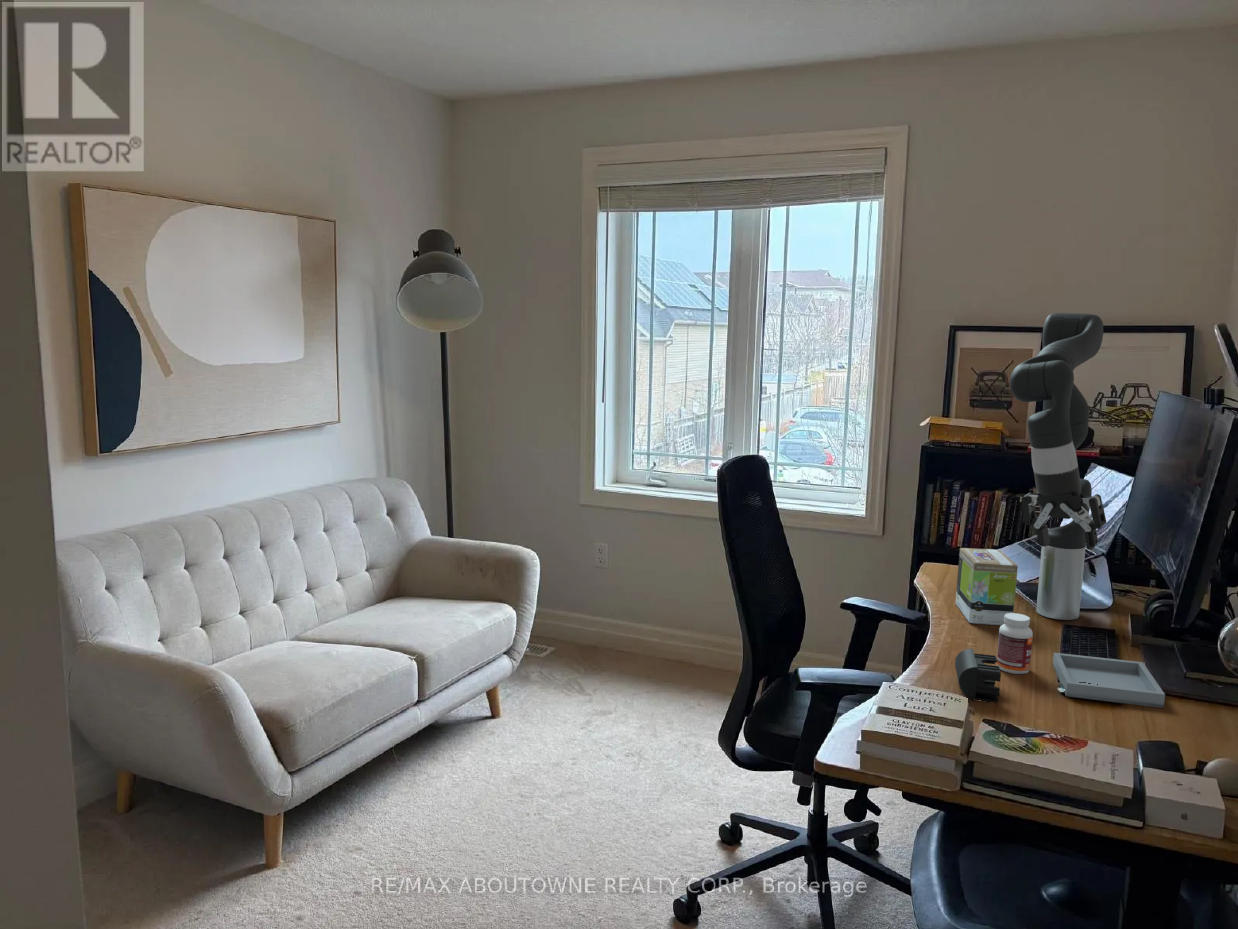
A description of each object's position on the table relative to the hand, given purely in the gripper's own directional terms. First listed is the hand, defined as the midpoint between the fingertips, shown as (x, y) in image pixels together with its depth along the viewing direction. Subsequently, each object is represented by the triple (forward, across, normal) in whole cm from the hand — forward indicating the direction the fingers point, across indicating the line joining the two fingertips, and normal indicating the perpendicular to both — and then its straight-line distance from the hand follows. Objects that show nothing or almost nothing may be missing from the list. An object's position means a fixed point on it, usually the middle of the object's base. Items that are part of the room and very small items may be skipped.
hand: (1068, 546), depth 166 cm
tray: (+28, -4, +2) cm, 28 cm away
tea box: (+28, +32, -19) cm, 47 cm away
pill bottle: (+25, +11, +7) cm, 28 cm away
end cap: (+21, +10, +23) cm, 33 cm away
